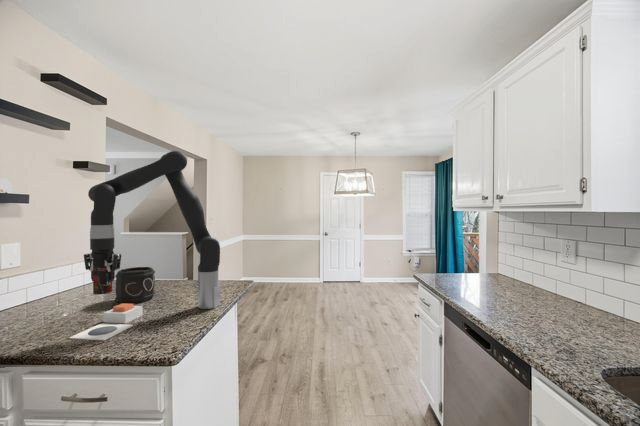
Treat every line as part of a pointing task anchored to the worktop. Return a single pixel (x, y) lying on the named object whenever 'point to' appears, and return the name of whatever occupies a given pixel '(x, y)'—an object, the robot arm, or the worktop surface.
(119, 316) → the button housing
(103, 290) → the deodorant
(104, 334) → the white flat square slab
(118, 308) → the button
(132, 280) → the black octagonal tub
